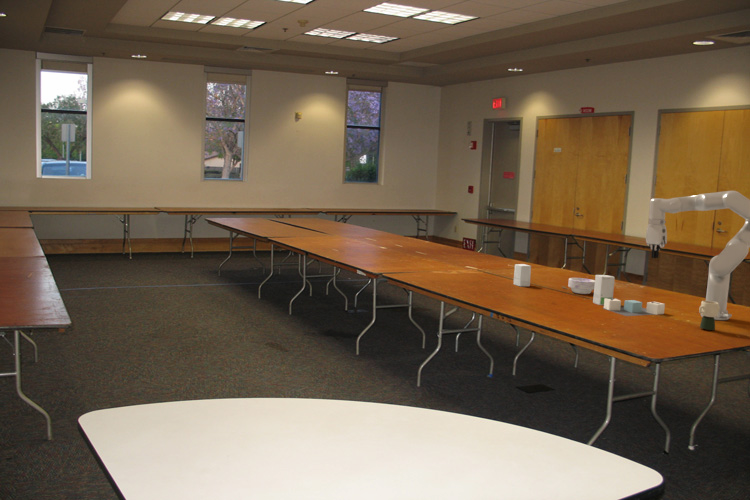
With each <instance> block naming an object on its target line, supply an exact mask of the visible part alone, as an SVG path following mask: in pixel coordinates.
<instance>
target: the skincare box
mask: <svg viewBox="0 0 750 500" xmlns="http://www.w3.org/2000/svg"><path fill="white" fill-rule="evenodd" d="M594 276H595V277H594V280H595V286H594V290H593V298H592V303H593V304H595V305H598V306H604V299H605V298H614V290H615V279H616V278H615V276H613V275H606V274H595V275H594Z"/></svg>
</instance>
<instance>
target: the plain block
mask: <svg viewBox="0 0 750 500" xmlns="http://www.w3.org/2000/svg"><path fill="white" fill-rule="evenodd" d="M623 303H624V305H623V307H624V310H625V311H629V312H632V313H634V312H641V311H642V308H643V301H639V300H634V299H630V300H629V299H628V300H626V299H625V300H624V302H623Z"/></svg>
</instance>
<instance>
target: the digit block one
mask: <svg viewBox="0 0 750 500" xmlns="http://www.w3.org/2000/svg"><path fill="white" fill-rule="evenodd" d="M665 307H666V303H662V302H658V301H649V302H648V301H647V302H646V307H645V309H646V312H648V313H652V314H656V315H664V314H665Z"/></svg>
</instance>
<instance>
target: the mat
mask: <svg viewBox="0 0 750 500" xmlns="http://www.w3.org/2000/svg"><path fill="white" fill-rule="evenodd" d="M602 309H603V310H606V311H609V312H613V313H615V314H618V315H621V316H625V317H631V316H633V317H634V316H636V317H637V316H638V317H639V316H651V315H653V316H655V315H656V314H652V313H648V312H646V307H642V311H641V312H634V313H632V312H629V311H625V310H624V306H621V307H620V310H607V309H605V308H604V307H602Z"/></svg>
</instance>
